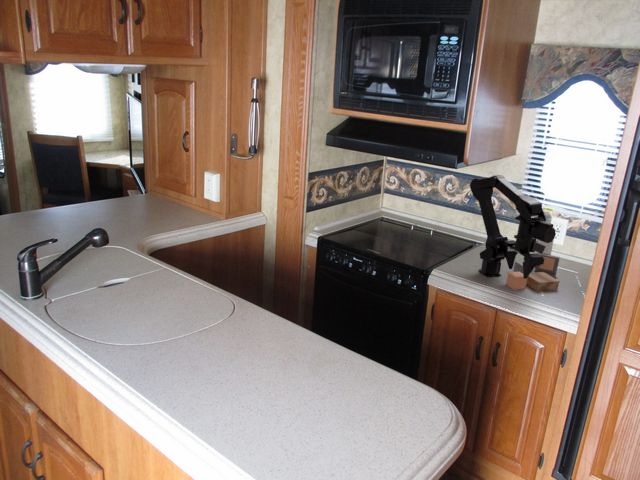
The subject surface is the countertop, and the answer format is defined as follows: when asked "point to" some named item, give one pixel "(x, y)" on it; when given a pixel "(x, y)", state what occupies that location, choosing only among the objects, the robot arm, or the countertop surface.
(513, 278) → the terracotta cube
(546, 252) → the syrup box
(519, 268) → the slate cube
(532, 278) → the base block
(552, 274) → the swatch sign
